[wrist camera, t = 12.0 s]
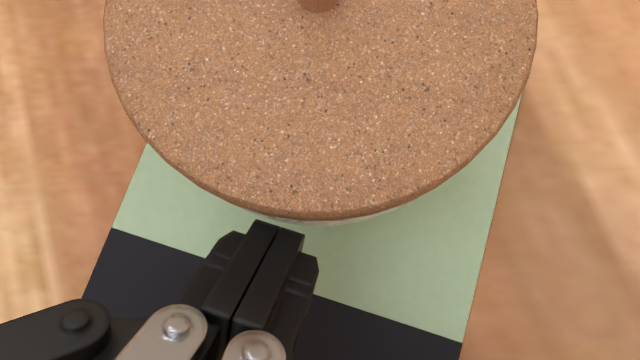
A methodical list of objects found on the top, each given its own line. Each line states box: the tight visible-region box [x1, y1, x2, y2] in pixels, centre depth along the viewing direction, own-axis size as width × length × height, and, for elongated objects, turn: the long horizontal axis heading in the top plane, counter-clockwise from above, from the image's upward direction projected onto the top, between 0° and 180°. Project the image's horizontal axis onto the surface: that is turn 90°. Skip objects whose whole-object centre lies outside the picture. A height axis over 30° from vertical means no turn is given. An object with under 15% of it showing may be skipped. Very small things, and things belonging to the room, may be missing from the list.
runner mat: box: [82, 93, 522, 360], centre depth 17 cm, size 26×14×1 cm, turn 162°
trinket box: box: [103, 0, 538, 226], centre depth 14 cm, size 11×11×9 cm
